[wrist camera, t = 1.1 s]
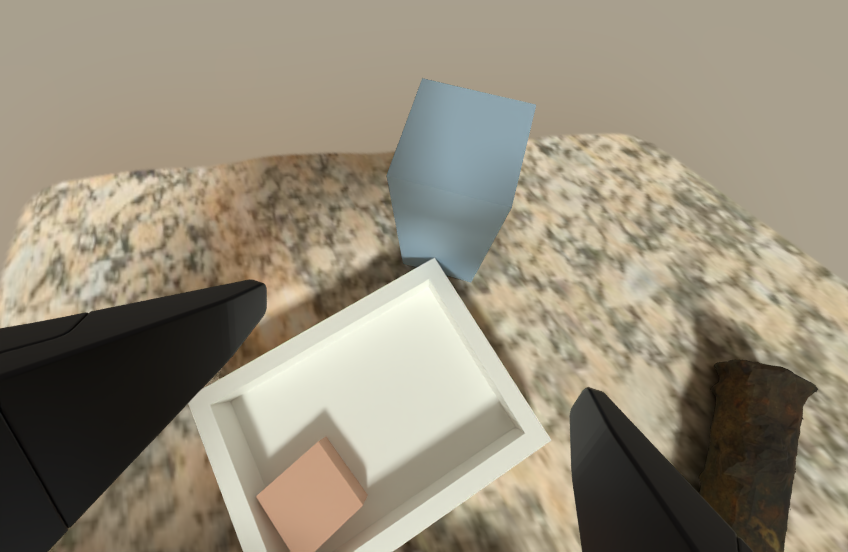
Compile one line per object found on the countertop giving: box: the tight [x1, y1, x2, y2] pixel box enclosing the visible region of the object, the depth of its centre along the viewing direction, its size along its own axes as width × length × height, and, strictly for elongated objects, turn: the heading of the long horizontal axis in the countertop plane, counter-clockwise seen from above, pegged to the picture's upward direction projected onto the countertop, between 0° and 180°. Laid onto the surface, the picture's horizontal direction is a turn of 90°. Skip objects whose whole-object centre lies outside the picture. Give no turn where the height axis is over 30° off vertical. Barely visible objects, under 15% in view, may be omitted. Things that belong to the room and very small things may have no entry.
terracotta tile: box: [256, 436, 368, 552], centre depth 18 cm, size 4×4×2 cm
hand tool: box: [699, 360, 818, 552], centre depth 17 cm, size 19×4×5 cm, turn 153°
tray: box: [188, 258, 551, 552], centre depth 19 cm, size 16×12×3 cm
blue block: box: [387, 79, 536, 282], centre depth 19 cm, size 5×5×11 cm
